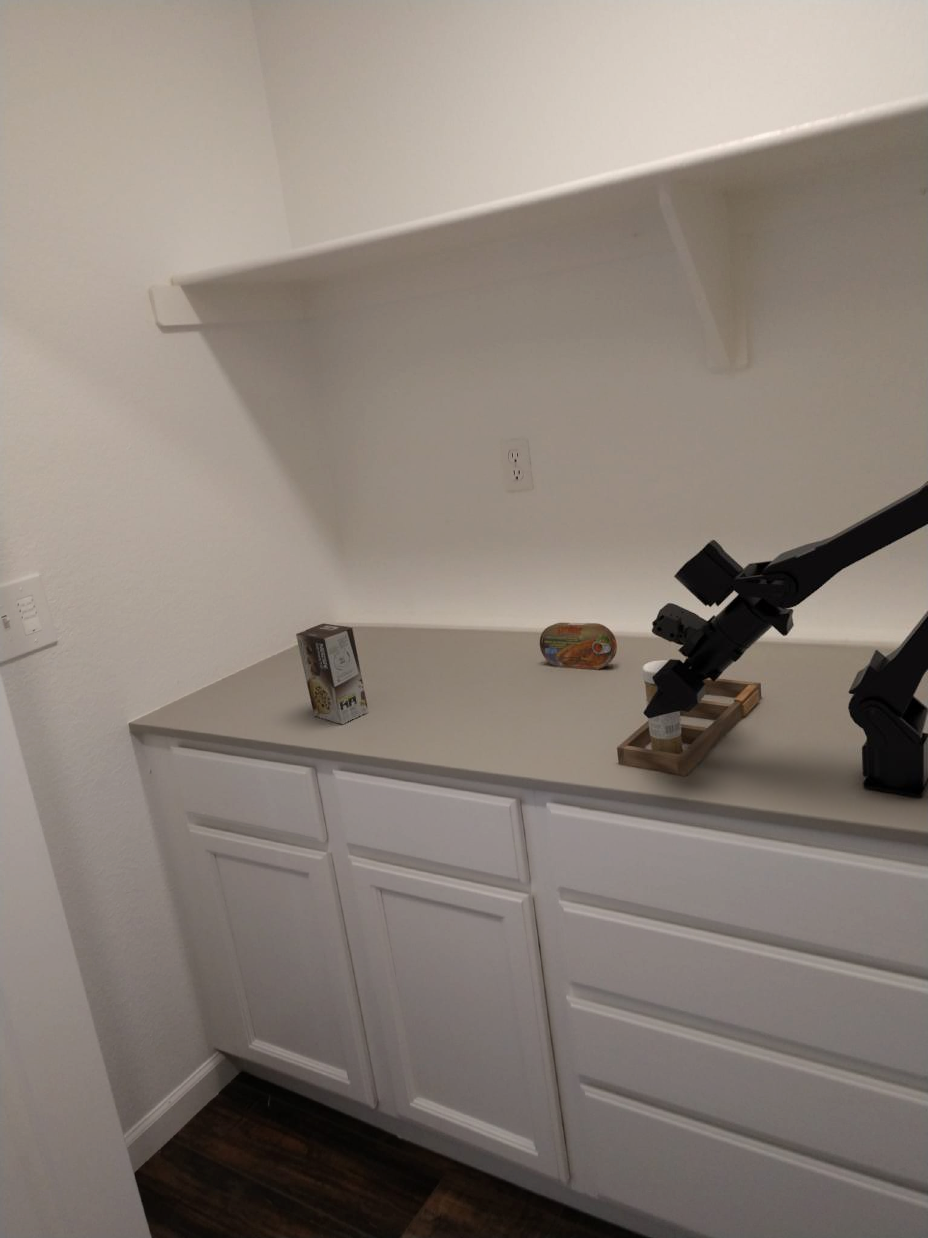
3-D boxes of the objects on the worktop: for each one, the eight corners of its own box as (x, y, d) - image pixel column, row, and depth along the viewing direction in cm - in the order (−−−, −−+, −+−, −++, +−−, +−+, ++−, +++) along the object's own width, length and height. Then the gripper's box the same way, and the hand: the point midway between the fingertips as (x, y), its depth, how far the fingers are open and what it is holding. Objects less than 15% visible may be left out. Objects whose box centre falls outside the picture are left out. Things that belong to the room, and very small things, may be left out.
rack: (764, 698, 133) (763, 681, 132) (688, 776, 113) (686, 757, 112) (700, 690, 140) (699, 674, 139) (618, 763, 119) (616, 745, 118)
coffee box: (370, 712, 153) (354, 627, 148) (341, 725, 148) (324, 638, 144) (340, 703, 159) (323, 621, 155) (312, 716, 155) (294, 632, 151)
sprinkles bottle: (678, 745, 122) (670, 657, 118) (688, 758, 118) (680, 667, 114) (647, 750, 122) (638, 662, 118) (655, 764, 117) (646, 673, 114)
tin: (541, 666, 163) (536, 624, 160) (549, 660, 165) (543, 619, 163) (614, 671, 154) (609, 627, 152) (621, 665, 157) (616, 621, 154)
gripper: (709, 568, 118) (640, 639, 127) (662, 608, 103) (588, 685, 112) (770, 624, 116) (696, 692, 125) (731, 673, 101) (650, 747, 110)
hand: (658, 702), depth 118 cm, fingers open, 9 cm apart
